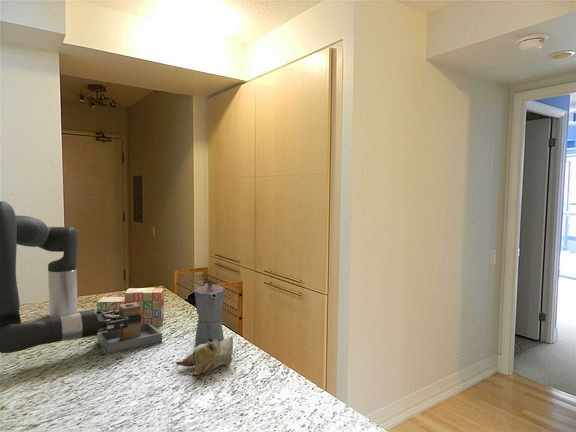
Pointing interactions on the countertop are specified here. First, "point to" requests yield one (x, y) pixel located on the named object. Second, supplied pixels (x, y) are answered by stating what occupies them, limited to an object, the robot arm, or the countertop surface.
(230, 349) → the ceramic sculpture
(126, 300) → the stack of blocks
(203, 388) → the countertop surface
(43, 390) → the countertop surface
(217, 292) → the moka pot
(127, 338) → the walnut block
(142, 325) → the charcoal tray
